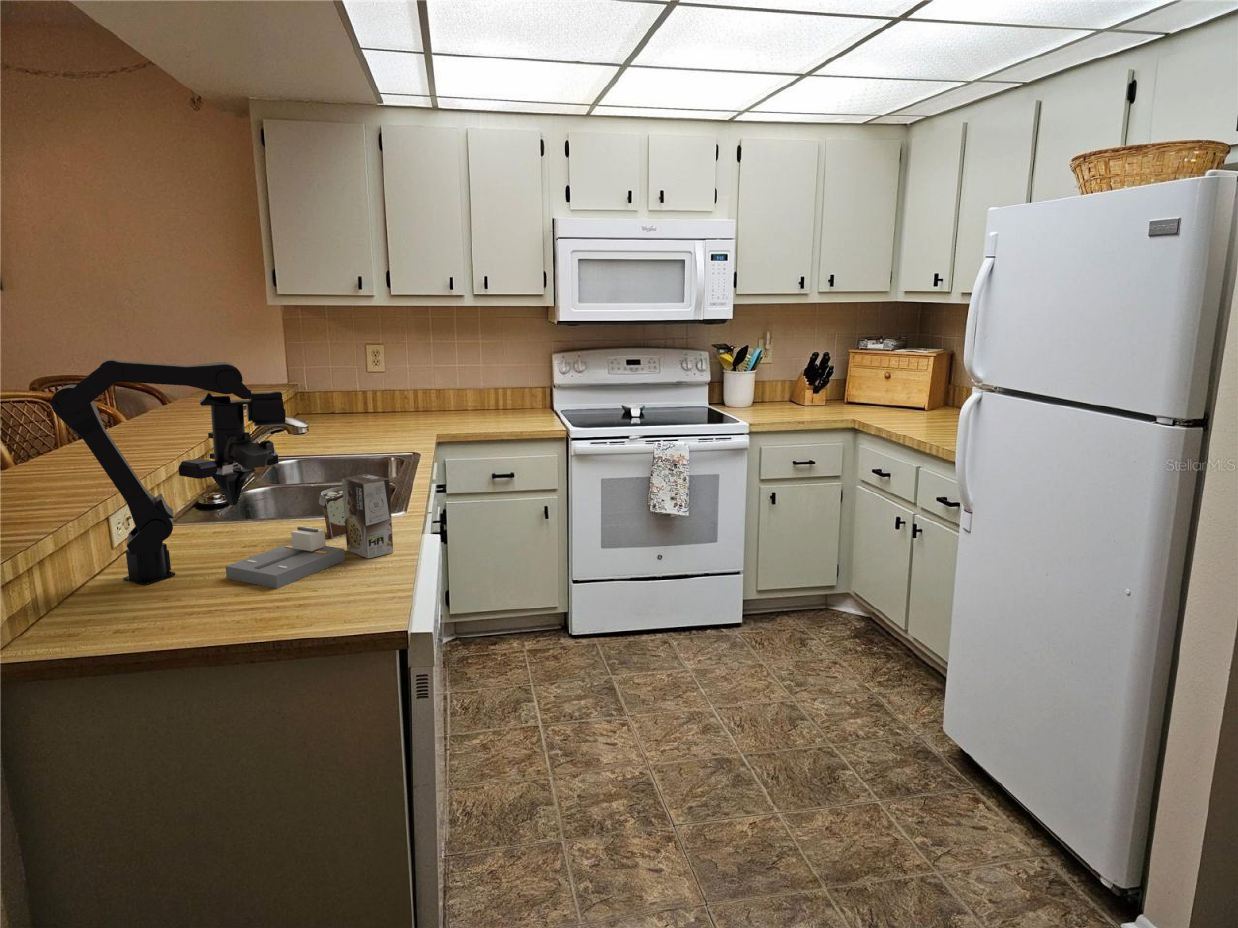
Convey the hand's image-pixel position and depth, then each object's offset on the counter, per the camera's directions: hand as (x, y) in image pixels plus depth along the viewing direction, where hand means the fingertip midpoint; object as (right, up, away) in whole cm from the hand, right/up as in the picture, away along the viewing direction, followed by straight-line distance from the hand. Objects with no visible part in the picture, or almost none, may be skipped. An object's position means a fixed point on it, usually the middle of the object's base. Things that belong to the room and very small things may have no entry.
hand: (233, 505), depth 161 cm
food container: (+12, -8, +27) cm, 30 cm away
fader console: (+11, -13, +1) cm, 17 cm away
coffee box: (+23, -11, +12) cm, 29 cm away
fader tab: (+13, -9, +5) cm, 17 cm away
